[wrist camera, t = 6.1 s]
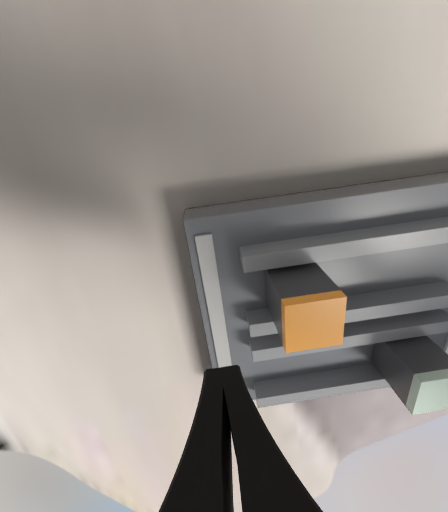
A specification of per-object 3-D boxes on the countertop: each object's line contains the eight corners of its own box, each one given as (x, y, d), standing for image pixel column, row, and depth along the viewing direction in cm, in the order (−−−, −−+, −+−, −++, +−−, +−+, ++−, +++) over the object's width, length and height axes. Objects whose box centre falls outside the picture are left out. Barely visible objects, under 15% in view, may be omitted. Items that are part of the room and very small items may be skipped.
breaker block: (481, 167, 17) (642, 185, 11) (430, 346, 24) (511, 420, 18) (185, 209, 17) (175, 252, 11) (217, 379, 24) (223, 467, 17)
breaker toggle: (311, 257, 16) (347, 297, 12) (310, 297, 18) (342, 344, 14) (264, 264, 16) (284, 306, 12) (266, 303, 18) (285, 353, 14)
